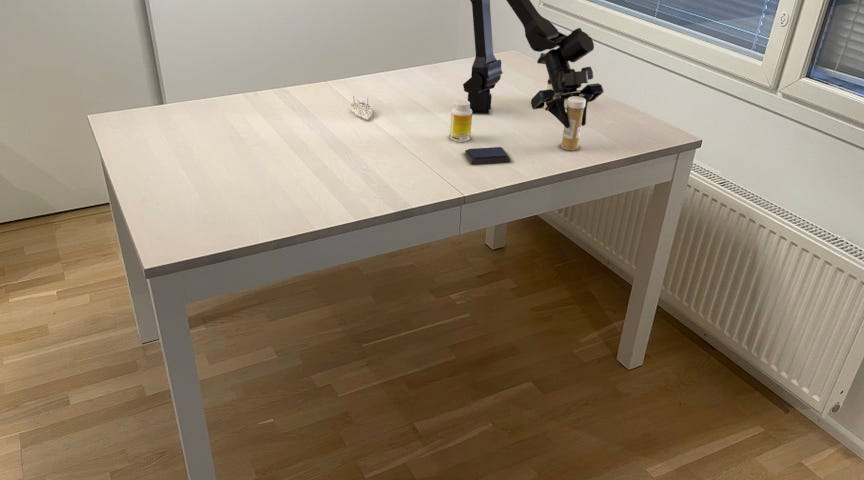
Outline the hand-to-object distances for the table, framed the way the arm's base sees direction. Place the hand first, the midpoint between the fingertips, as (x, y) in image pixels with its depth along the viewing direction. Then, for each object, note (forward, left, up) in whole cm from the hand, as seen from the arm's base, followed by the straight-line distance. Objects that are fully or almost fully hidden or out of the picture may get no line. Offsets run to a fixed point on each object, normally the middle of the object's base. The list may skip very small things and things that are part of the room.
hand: (576, 126), depth 186 cm
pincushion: (-59, +19, -7) cm, 62 cm away
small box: (-1, +34, -7) cm, 35 cm away
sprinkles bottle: (-1, +2, -7) cm, 7 cm away
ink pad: (-23, -8, -7) cm, 25 cm away
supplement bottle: (-30, +4, -7) cm, 31 cm away
